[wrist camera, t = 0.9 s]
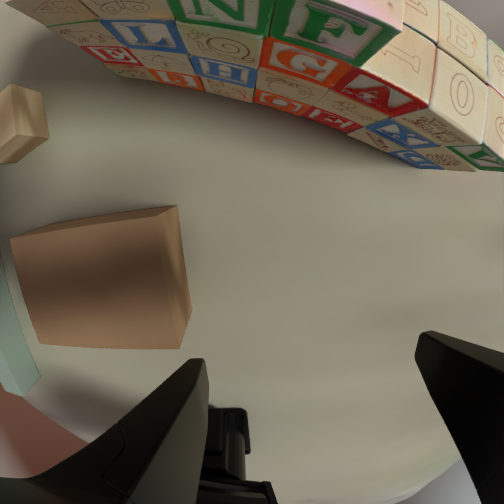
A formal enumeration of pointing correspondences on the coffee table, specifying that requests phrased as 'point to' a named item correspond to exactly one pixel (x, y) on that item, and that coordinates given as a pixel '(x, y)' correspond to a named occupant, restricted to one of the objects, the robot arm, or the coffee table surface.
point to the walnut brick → (106, 280)
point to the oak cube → (21, 122)
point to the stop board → (13, 347)
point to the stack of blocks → (314, 64)
